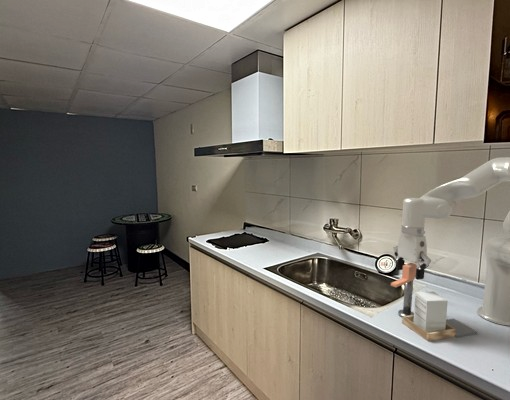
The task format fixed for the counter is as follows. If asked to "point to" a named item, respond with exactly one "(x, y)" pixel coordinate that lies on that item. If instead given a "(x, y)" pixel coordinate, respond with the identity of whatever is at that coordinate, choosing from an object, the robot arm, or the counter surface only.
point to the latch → (406, 275)
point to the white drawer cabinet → (430, 311)
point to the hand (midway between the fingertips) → (409, 274)
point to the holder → (431, 336)
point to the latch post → (407, 300)
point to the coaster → (460, 328)
